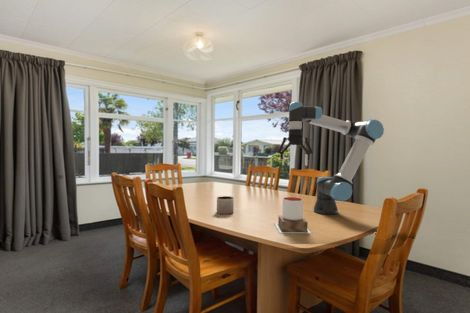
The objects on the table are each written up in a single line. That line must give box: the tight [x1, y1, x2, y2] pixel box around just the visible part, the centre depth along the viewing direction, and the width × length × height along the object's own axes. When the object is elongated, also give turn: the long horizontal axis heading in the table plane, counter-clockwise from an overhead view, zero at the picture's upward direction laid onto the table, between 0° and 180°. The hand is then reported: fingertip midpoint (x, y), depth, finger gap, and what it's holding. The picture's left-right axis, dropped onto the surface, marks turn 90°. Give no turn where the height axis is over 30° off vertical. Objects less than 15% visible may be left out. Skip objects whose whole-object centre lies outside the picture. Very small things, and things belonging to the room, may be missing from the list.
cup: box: [282, 196, 304, 221], centre depth 138 cm, size 10×10×10 cm
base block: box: [277, 215, 308, 232], centre depth 138 cm, size 12×12×5 cm
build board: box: [273, 223, 313, 235], centre depth 138 cm, size 16×16×2 cm
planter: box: [216, 195, 235, 215], centre depth 176 cm, size 11×11×10 cm
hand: (294, 165), depth 161 cm, fingers open, 13 cm apart
